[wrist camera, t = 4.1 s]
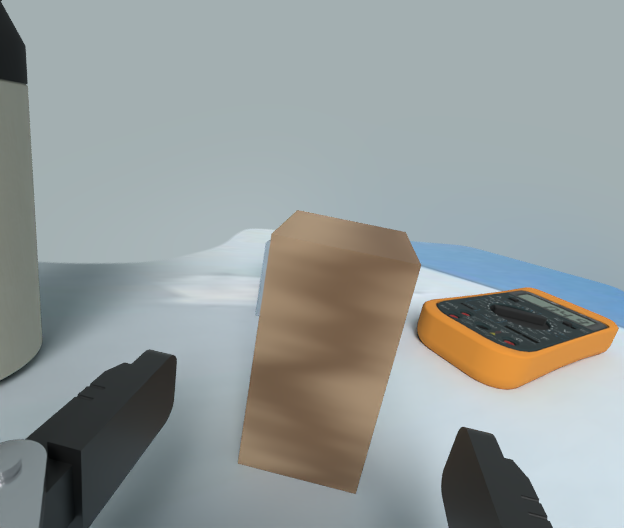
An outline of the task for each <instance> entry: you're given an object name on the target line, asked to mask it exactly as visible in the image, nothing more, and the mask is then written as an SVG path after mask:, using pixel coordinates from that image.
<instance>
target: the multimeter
mask: <svg viewBox="0 0 624 528" xmlns="http://www.w3.org/2000/svg"><path fill="white" fill-rule="evenodd" d="M618 329H619V328H618V327H617V325H616V324H615V323H614V322H613V321H611V320H610V319H608V318H606V317H603V316H601V315H599V314H596V313H594V312H591V311H589V310H586V309H584V308H582V307H579V306H577V305H574V304H572V303H569V302H567V301H565V300H562V299H560V298H557V297H555V296H552V295H550V294H548V293H545V292H543V291H540V290H537V289H534V288H520V289H514V290H508V291H502V292H495V293H487V294H479V295H472V296H462V297H453V298H444V299H434V300H430V301H427V302H425V303H424V304H423V307H422V310H421V314H420V317H419V321H418V326H417V331H418V335H419V338H420V340H421V341H422V342H423V344H424V345H426V346H427V347H428V348H429V349H431V350H432V351H434V352H435V353H436V354H438V355H439V356H441V357H442V358H444V359H445V360H447V361H448V362H450V363H451V364H452V365H454V366H455V367H457V368H458V369H460V370H461V371H463V372H464V373H465V374H467V375H468V376H470V377H472V378H473V379H475V380H477V381H479V382H481V383H483V384H486V385H488V386H491V387H495V388H499V389H514V388H517V387H520V386H522V385H524V384H526V383H528V382H530V381H532V380H535V379H537V378H539V377H541V376H543V375H545V374H547V373H549V372H551V371H553V370H556V369H558V368H560V367H563V366H565V365H568V364H570V363H573V362H575V361H578V360H580V359H584V358H587V357H590V356H594V355H597V354H600V353H602V352H605V351H606V350H607V349H608V348H609V347H610V345H611V343H612V341H613V339H614V337H615V335H616V333H617V331H618Z"/></svg>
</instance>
